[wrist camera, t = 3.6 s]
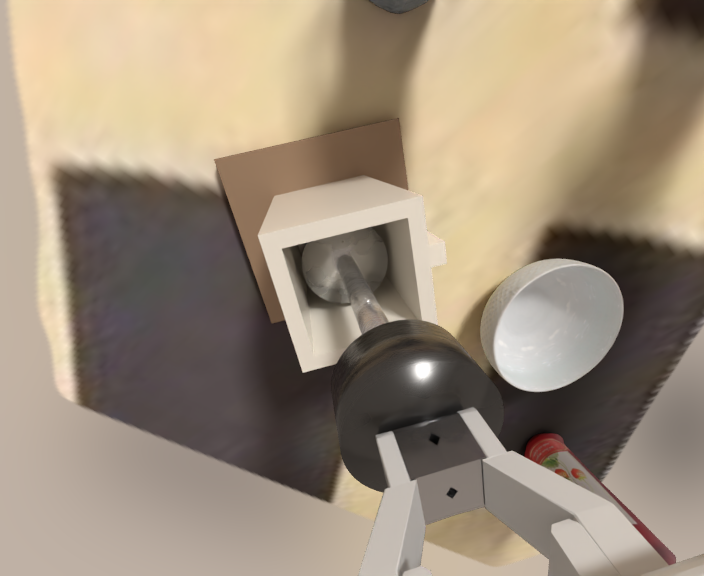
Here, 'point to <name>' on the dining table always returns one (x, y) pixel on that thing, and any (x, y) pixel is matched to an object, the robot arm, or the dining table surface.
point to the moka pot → (398, 5)
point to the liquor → (585, 481)
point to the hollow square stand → (331, 229)
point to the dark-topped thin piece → (389, 358)
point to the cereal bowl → (551, 323)
